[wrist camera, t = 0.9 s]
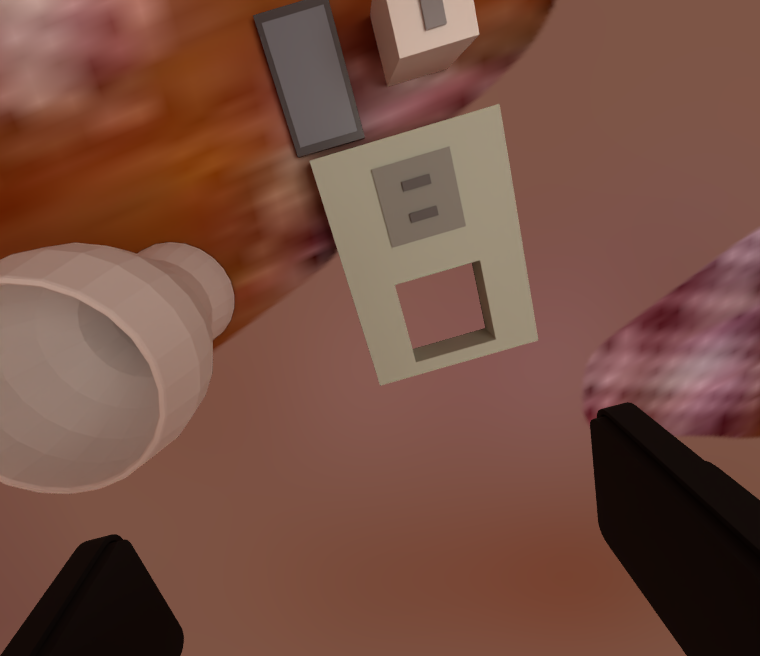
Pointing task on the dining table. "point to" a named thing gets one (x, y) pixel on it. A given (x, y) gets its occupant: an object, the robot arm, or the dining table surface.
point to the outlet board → (429, 235)
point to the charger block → (421, 35)
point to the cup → (102, 358)
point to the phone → (310, 75)
